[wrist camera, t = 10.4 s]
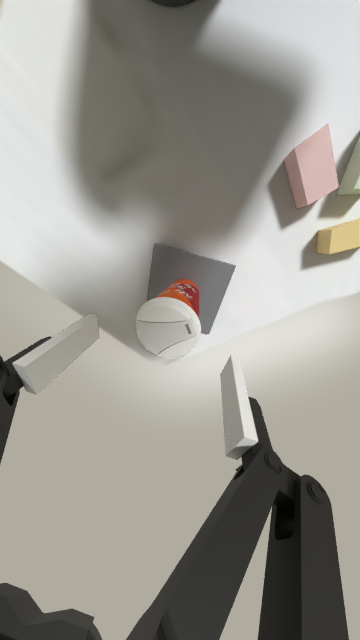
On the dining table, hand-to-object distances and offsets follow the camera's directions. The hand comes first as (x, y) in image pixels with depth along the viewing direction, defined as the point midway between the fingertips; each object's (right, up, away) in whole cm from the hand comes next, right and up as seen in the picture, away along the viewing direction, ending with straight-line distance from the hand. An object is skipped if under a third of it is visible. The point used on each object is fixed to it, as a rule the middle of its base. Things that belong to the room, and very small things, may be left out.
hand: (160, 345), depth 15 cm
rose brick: (+18, +21, +5) cm, 28 cm away
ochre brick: (+25, +14, +7) cm, 29 cm away
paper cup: (+3, +7, +14) cm, 16 cm away
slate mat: (+3, +8, +14) cm, 17 cm away
